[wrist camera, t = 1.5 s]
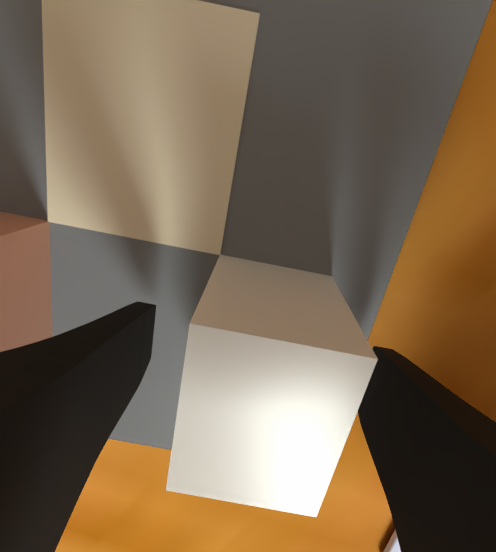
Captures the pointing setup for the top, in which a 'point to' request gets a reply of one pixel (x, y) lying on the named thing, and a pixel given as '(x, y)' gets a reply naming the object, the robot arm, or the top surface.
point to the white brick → (267, 387)
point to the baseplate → (220, 149)
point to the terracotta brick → (24, 281)
